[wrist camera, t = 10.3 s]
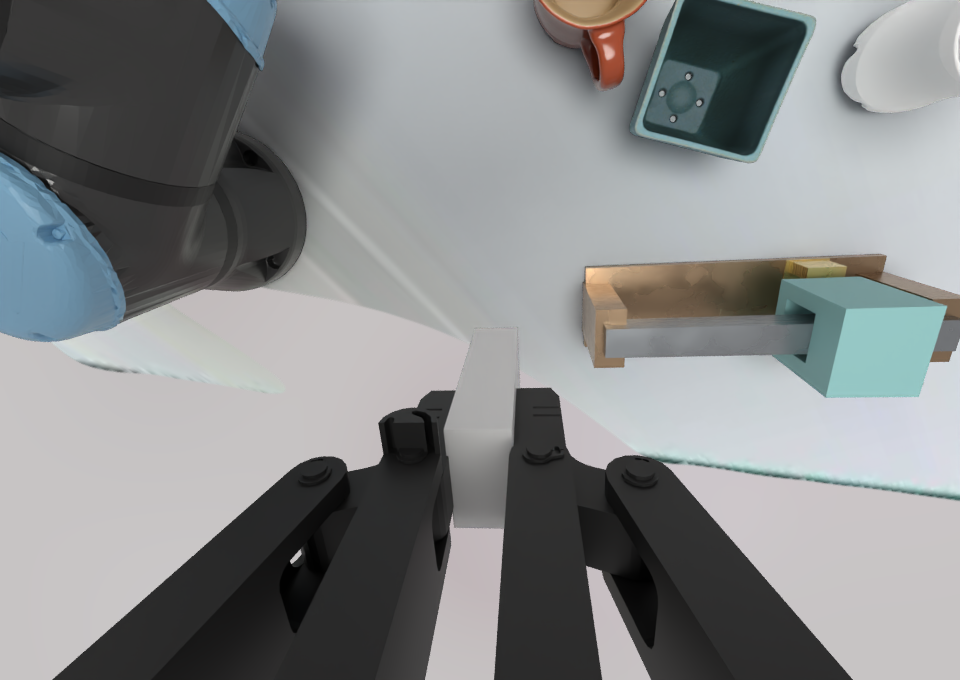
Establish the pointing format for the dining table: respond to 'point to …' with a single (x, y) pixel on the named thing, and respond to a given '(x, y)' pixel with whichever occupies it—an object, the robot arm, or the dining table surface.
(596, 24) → the mug
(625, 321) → the rail
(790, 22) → the flower pot
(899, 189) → the dining table surface
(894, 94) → the water bottle
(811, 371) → the block
